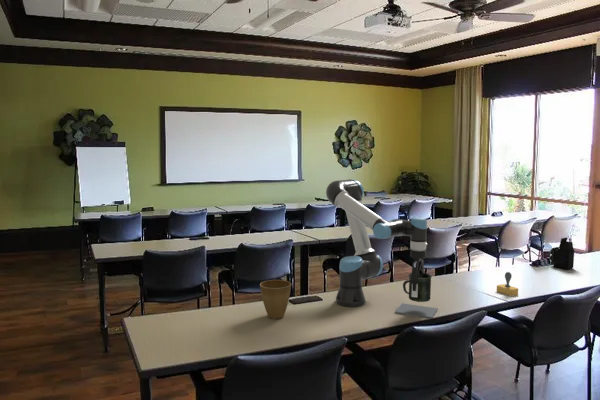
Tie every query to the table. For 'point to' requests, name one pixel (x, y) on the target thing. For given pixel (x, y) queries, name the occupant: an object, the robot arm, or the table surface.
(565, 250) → the camera
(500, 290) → the rubber stamp
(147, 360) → the table surface
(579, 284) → the table surface
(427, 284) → the mug
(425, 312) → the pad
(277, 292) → the plant pot
